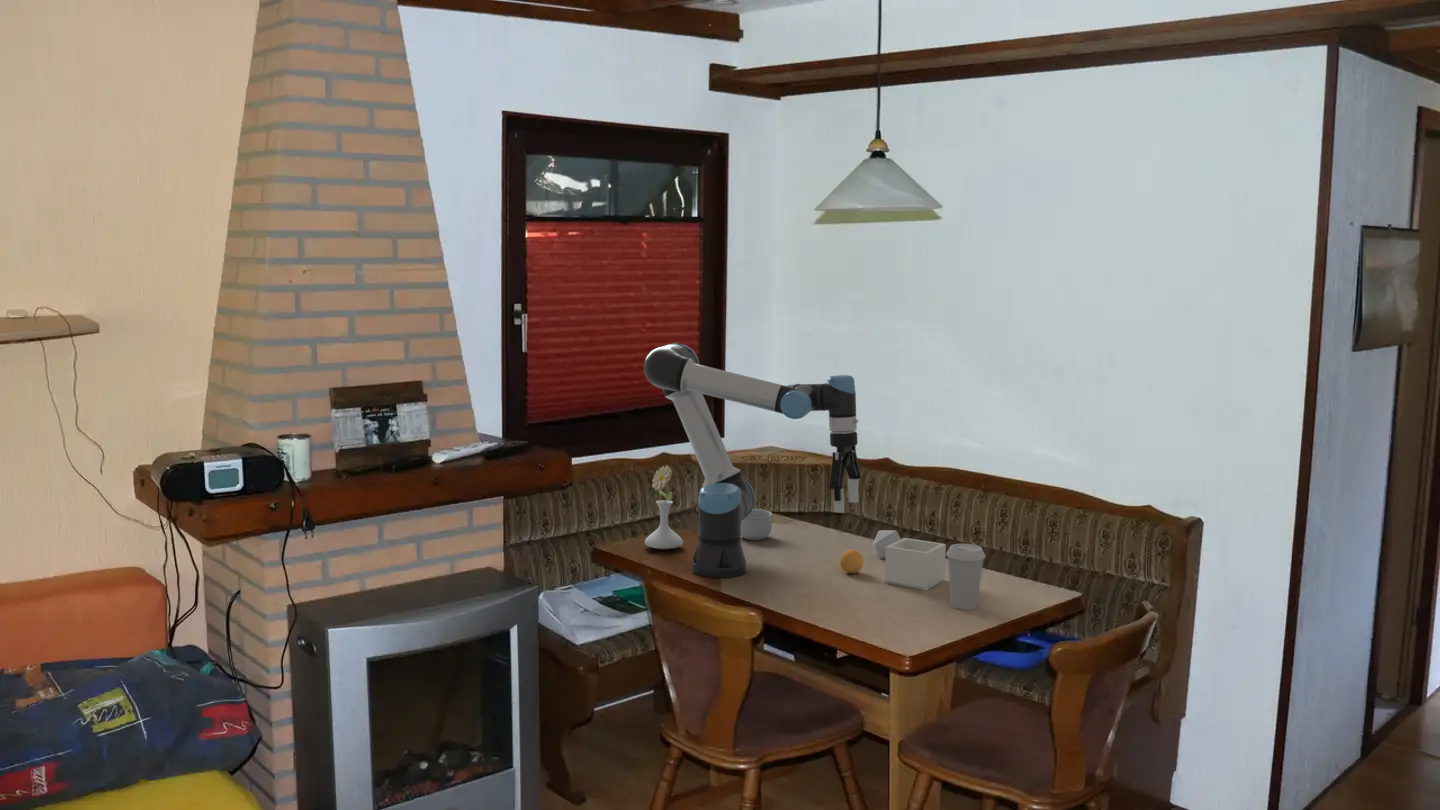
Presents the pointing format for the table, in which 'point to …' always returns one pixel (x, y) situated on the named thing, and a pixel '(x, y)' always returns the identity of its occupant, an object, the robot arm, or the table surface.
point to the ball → (851, 561)
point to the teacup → (756, 525)
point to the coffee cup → (965, 575)
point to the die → (884, 541)
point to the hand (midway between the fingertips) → (846, 507)
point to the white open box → (915, 564)
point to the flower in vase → (663, 515)
